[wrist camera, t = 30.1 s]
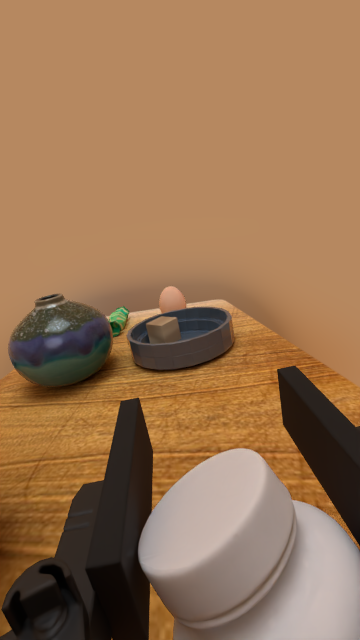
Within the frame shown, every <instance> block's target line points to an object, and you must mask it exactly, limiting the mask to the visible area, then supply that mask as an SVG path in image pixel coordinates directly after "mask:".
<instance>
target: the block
mask: <svg viewBox="0 0 360 640" xmlns="http://www.w3.org/2000/svg"><path fill="white" fill-rule="evenodd" d="M146 328H147V332H148V336H149V340H150V344H159V343H172V342H176V341H178V340H180V339H181V334H180V330H179V325H178V320H177V318H176V317H164V316H161V317H159V318H157V319H155V320H153V321H151V322H149V323H147V324H146Z"/></svg>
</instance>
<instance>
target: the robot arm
mask: <svg viewBox="0 0 360 640" xmlns="http://www.w3.org/2000/svg"><path fill="white" fill-rule="evenodd" d="M277 372H278V381H279V391H280V400H281V409H282V418H283V425H284V427H285V428H286V430H287V431H288V433H289V435H290V436H291V438H292V439H293V441H294V442H295V444H296V446H297V447H298V449H299V450H300V452H301V454H302V455H303V457H304V458H305V460H306V462H307V463H308V465H309V466H310V468H311V469H312V471H313V473H314V474H315V476H316V477H317V479H318V481H319V482H320V484H321V485H322V487H323V488H324V490H325V492H326V493H327V495H328V496H329V498H330V500H331V501H332V503H333V504H334V506H335V507H336V509H337V511H338V512H339V514H340V515H341V517H342V519H343V520H344V522H345V523H346V525H347V527H348V528H349V530H350V531H351V533H352V534H353V536H354V538H355V539H356V541H357V542H358V544H359V546H360V426H358V427H355V426H354V425H353V424H352V423H351V422H350V421H349V420H348V419H347V418H346V417H345V416H344V415H343V414H342V413H341V412H340V411H339V410H338V409H337V408H336V407H335V406H334V405H333V404H332V403H331V402H330V401H329V400H328V399H327V398H326V397H325V395H324V394H323V393H322V392H321V391H320V390H319V389H318V388H317V387H316V386H315V385H314V384H313V383H312V382H311V381H310V380H309V379H308V378H307V377H306V376H305V375H304V374H303V373H302V372H301V371H300V370H299V369H298V368H297V367H296V366H291V367H286V368H281V369H277ZM152 473H153V449H152V446H151V442H150V438H149V434H148V430H147V427H146V423H145V419H144V415H143V411H142V408H141V404H140V400H139V398H135V399H130V400H125V401H121V403H120V408H119V412H118V417H117V422H116V426H115V431H114V436H113V440H112V445H111V450H110V454H109V459H108V464H107V468H106V473H105V478H104V480H103V481H98V482H93V483H88V484H83V486H82V487H81V488H80V490H79V491H78V493H77V494H76V495H75V497H74V498H73V500H72V503H71V507H70V510H69V513H68V518H67V519H66V522H65V526H64V532H62V535H61V538H60V542H59V545H58V548H57V551H56V554H55V557H54V558H52V557H51V558H48V559H44V560H41V561H39V562H37V563H35V564H34V565H32V566H31V567H29V568H28V569H26V570H25V571H24V572H23V573H22V574H21V575H20V576H19V577H18V578H17V579H16V580H15V582H14V583H13V585H12V587H11V588H10V590H9V591H8V593H7V594H6V597H5V600H4V603H3V606H2V609H1V610H2V611H3V613H4V615H5V617H6V619H7V621H8V623H9V624H10V626H11V628H12V630H11V631H9V632H8V633H6V634H4V635H3V636H1V637H0V640H111V637H112V639H113V640H149V601H150V581H149V580H148V578H147V577H146V575H145V573H144V572H143V570H142V568H141V566H140V563H139V559H138V545H139V540H140V536H141V533H142V530H143V528H144V526H145V524H146V522H147V520H148V518H149V516H150V514H151V513H152Z"/></svg>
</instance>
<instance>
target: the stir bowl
mask: <svg viewBox="0 0 360 640" xmlns="http://www.w3.org/2000/svg"><path fill="white" fill-rule="evenodd" d="M161 316H164V317H176V318H177V320H178V325H179V330H180V334H181V339H180V340H178V341H176V342H172V343H159V344H150V340H149V336H148V332H147V328H146V324H147V323H149V322H151V321H153V320H155V319H157V318H159V317H161ZM234 338H235V337H234V331H233V324H232V318H231V315H230V313H229V312H228V311H226V310H224V309H222V308H216V307H192V308H184V309H178V310H173V311H169V312H165V313H162V314H158V315H156V316H153V317H150V318H148V319H145V320H143V321H142V322H140V323H138V324H136V325H135V326H134V327H132V328H131V329H130V330H129V331H128V334H127V340H128V344H129V348H130V351H131V355H132V358H133V360H134V362H135V363H136V364H138V365H140V366H142V367H144V368H150V369H158V370H164V369H178V368H184V367H189V366H193V365H197V364H200V363H203V362H206V361H209V360H211V359H213V358H215V357H217V356H219V355H221V354H223V353H224V352H225V351H226V350H228V349H229V348H230V347H231V346H232V344H233V341H234Z"/></svg>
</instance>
